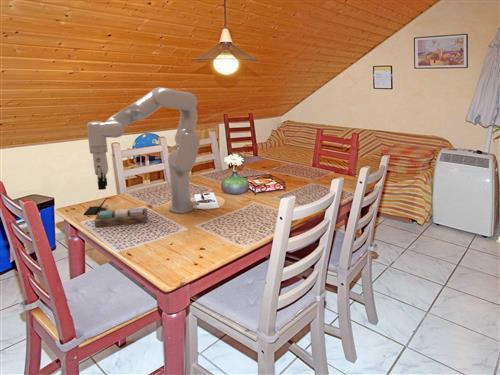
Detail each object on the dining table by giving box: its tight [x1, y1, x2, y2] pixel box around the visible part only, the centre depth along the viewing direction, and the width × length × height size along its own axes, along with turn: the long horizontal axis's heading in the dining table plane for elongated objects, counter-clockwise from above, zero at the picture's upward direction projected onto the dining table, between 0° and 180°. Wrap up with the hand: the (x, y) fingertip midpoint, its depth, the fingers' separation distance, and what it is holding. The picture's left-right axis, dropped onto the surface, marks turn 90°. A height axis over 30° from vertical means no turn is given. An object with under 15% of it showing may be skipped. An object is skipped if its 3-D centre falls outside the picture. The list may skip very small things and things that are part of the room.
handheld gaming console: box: [83, 198, 107, 216], centre depth 195 cm, size 12×7×10 cm
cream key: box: [114, 208, 129, 218], centre depth 182 cm, size 6×6×2 cm
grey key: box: [130, 207, 144, 216], centre depth 184 cm, size 6×6×2 cm
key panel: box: [94, 208, 148, 228], centre depth 183 cm, size 23×12×3 cm, turn 104°
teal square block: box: [99, 209, 114, 219], centre depth 181 cm, size 6×6×2 cm
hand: (103, 187), depth 177 cm, fingers open, 4 cm apart
